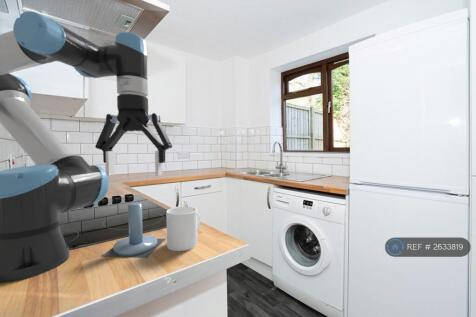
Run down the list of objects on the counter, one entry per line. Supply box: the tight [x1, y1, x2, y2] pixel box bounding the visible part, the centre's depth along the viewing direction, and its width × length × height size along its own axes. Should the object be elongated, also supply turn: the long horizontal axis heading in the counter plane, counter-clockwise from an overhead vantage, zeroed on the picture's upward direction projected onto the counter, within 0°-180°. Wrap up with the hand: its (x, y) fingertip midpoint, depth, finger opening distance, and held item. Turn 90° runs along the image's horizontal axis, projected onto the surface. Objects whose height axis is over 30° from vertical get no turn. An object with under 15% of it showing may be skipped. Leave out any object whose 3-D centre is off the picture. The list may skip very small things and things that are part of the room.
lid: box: [112, 202, 157, 256], centre depth 63 cm, size 11×11×12 cm
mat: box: [101, 237, 166, 259], centre depth 63 cm, size 12×12×1 cm
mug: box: [165, 206, 201, 252], centre depth 66 cm, size 12×8×10 cm
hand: (134, 175), depth 62 cm, fingers open, 13 cm apart
